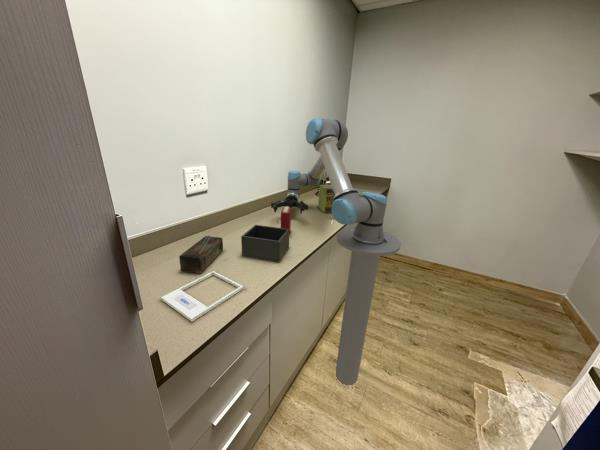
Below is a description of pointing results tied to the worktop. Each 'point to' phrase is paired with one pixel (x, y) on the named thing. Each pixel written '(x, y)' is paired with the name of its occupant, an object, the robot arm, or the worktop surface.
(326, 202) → the protein box
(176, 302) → the photo frame
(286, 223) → the block
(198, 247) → the dark brown wooden block
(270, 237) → the bin
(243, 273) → the worktop surface
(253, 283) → the worktop surface
